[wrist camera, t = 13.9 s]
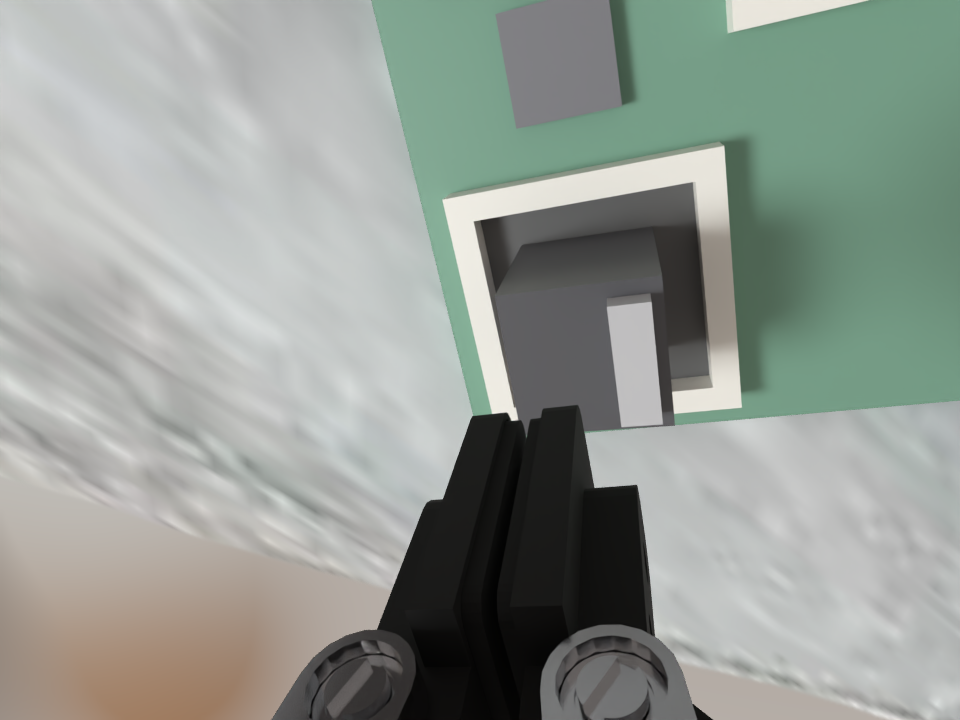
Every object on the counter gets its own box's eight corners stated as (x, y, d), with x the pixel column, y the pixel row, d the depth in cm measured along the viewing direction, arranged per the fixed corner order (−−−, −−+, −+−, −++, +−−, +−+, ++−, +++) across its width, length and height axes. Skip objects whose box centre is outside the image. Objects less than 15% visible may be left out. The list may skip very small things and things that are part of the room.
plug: (521, 244, 20) (490, 304, 15) (652, 226, 19) (663, 283, 14) (541, 359, 22) (518, 447, 17) (662, 347, 21) (676, 437, 16)
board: (353, -127, 18) (322, -150, 16) (1133, -395, 14) (1220, -472, 12) (485, 425, 25) (474, 456, 23) (1037, 374, 20) (1081, 407, 18)
